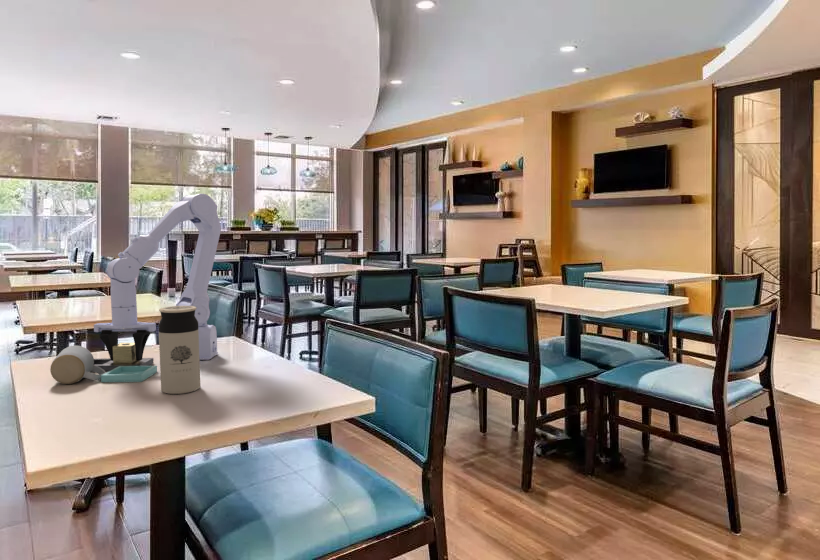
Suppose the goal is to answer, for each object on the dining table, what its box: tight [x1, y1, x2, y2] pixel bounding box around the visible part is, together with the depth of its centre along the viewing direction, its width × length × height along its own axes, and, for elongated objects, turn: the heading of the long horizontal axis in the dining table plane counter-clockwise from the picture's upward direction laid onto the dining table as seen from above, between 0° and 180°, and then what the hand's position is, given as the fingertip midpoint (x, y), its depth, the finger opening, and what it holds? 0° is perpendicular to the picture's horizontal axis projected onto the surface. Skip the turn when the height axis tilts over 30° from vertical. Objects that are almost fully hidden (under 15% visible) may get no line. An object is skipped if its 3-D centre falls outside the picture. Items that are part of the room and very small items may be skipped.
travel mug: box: [158, 305, 201, 395], centre depth 125 cm, size 8×8×18 cm
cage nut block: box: [113, 342, 140, 364], centre depth 146 cm, size 4×4×6 cm
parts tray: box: [100, 365, 158, 383], centre depth 137 cm, size 9×9×2 cm
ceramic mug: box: [49, 345, 107, 385], centre depth 134 cm, size 11×8×8 cm
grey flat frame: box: [90, 357, 154, 373], centre depth 146 cm, size 18×8×2 cm, turn 92°
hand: (126, 359), depth 146 cm, fingers open, 6 cm apart
